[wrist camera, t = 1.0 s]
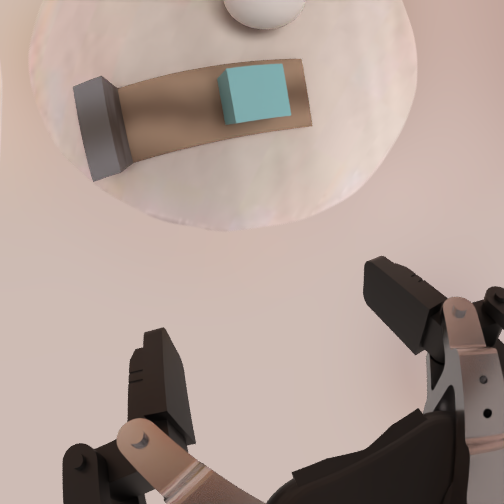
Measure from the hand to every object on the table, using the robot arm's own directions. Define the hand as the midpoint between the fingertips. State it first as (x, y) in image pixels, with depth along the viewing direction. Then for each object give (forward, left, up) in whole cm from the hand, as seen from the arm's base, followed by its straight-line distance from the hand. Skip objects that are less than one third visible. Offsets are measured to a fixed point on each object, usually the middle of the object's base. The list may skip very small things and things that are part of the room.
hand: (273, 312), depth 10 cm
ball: (-20, +9, -22) cm, 31 cm away
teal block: (-9, +6, -21) cm, 23 cm away
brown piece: (-9, +2, -22) cm, 24 cm away
